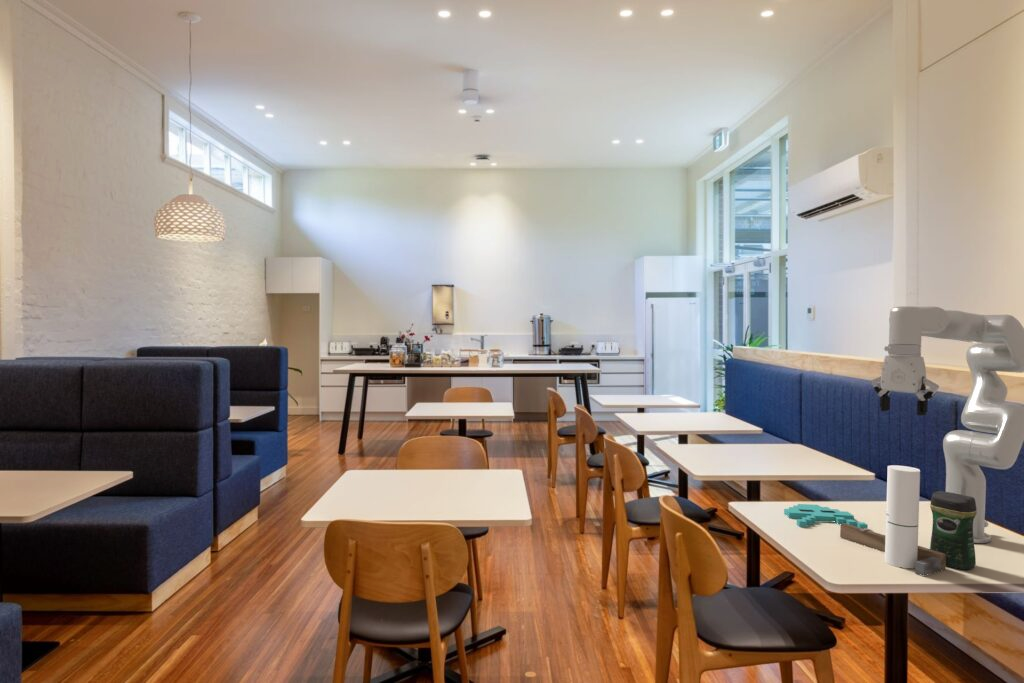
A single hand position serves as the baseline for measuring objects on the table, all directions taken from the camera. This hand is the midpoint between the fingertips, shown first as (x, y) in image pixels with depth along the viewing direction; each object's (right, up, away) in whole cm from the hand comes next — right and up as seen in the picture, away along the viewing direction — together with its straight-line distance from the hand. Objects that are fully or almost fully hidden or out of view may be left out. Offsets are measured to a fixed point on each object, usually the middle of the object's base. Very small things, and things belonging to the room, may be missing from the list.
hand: (902, 412), depth 166 cm
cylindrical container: (-6, -39, -9) cm, 40 cm away
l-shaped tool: (-8, -38, -3) cm, 39 cm away
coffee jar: (+7, -39, -9) cm, 40 cm away
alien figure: (-9, -38, +28) cm, 48 cm away
